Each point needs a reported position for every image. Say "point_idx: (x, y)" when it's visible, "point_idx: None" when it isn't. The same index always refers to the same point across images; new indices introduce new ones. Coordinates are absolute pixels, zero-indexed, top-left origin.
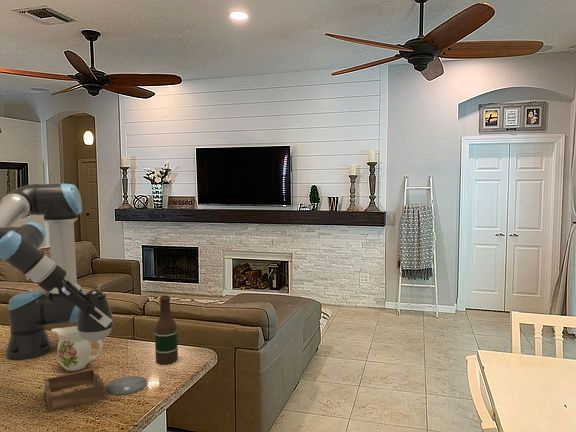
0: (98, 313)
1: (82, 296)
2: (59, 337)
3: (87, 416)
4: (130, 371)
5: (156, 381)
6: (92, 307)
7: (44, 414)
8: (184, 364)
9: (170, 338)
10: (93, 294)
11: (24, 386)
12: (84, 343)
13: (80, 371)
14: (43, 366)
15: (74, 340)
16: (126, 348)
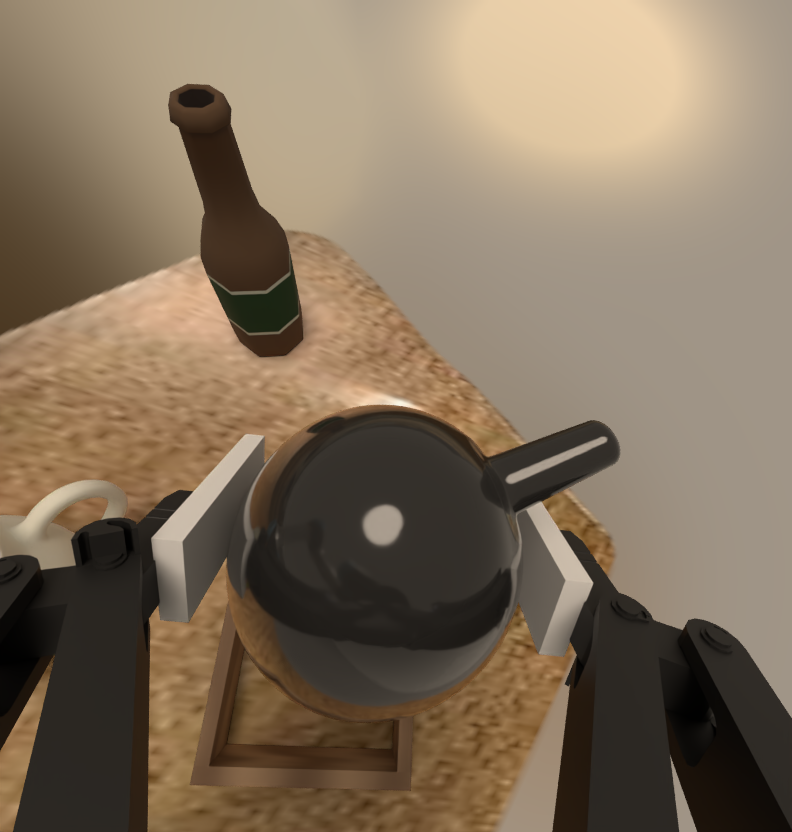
0: (597, 564)
1: (141, 671)
2: None
3: (505, 642)
4: (266, 439)
5: (392, 404)
6: (741, 647)
7: (415, 785)
8: (331, 308)
9: (292, 273)
10: (501, 562)
11: None
12: (46, 559)
13: (227, 611)
14: None
15: None
16: (46, 385)
